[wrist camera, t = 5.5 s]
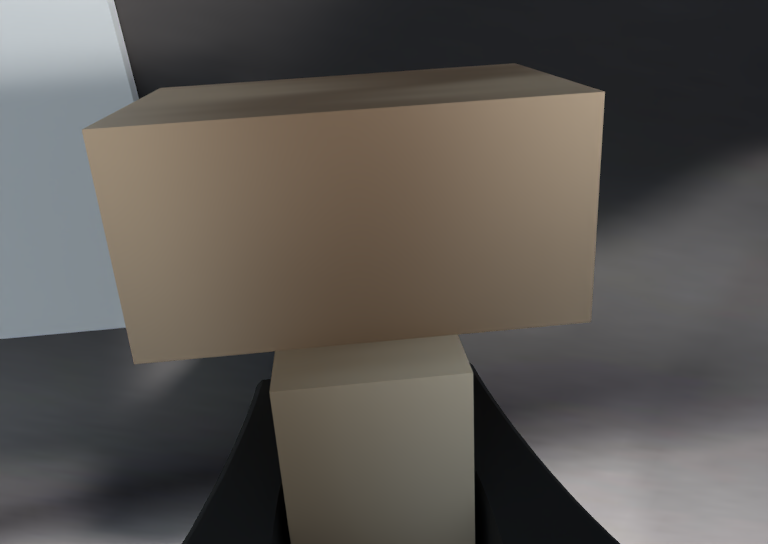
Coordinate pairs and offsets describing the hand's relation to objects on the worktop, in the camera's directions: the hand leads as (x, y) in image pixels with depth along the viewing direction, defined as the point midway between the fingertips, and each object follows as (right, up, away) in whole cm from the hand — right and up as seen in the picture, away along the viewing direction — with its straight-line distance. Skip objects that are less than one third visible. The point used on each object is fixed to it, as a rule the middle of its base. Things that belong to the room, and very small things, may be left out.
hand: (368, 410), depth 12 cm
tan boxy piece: (0, 0, +2) cm, 2 cm away
